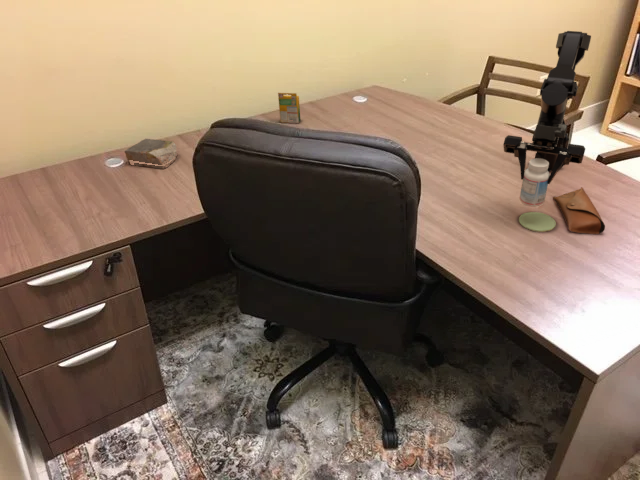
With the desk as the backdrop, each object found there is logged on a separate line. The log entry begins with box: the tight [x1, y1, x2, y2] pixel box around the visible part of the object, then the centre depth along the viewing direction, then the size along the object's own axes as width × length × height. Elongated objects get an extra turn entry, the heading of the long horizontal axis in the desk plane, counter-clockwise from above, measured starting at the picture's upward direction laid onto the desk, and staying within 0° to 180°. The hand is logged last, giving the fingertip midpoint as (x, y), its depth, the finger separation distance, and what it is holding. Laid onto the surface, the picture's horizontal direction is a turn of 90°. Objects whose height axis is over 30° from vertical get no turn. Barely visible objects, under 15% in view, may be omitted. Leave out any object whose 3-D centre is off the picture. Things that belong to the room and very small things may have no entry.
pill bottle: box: [519, 157, 551, 208], centre depth 134 cm, size 6×6×11 cm
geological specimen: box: [124, 138, 179, 170], centre depth 180 cm, size 11×6×15 cm
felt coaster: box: [518, 211, 557, 233], centre depth 140 cm, size 9×9×1 cm
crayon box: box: [277, 92, 301, 124], centre depth 201 cm, size 7×3×12 cm, turn 77°
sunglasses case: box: [552, 186, 606, 235], centre depth 141 cm, size 18×7×7 cm, turn 175°
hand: (534, 181), depth 133 cm, fingers closed on pill bottle, 6 cm apart
